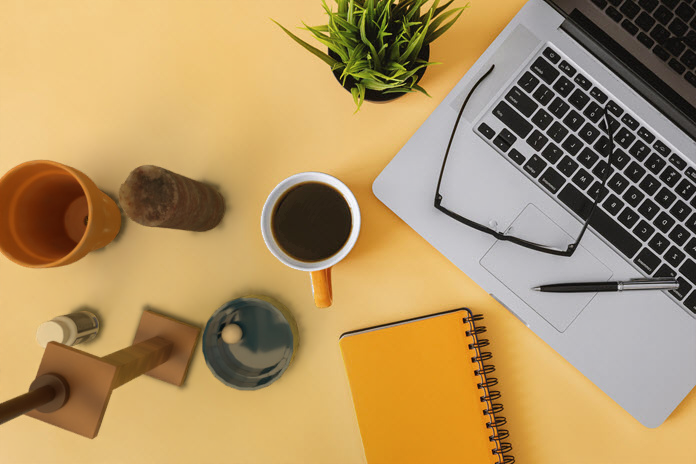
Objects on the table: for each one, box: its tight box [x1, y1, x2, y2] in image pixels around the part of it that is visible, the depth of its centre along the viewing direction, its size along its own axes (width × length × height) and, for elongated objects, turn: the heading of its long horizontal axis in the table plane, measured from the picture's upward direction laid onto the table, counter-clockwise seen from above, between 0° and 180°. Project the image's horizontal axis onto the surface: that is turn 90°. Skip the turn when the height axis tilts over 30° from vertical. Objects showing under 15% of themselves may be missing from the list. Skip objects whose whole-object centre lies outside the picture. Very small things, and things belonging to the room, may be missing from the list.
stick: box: [0, 373, 70, 426], centre depth 45 cm, size 4×4×12 cm
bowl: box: [201, 294, 300, 392], centre depth 71 cm, size 13×13×6 cm
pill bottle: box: [35, 310, 100, 350], centre depth 71 cm, size 5×5×8 cm
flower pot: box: [0, 159, 122, 270], centre depth 69 cm, size 14×14×13 cm
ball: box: [221, 324, 242, 344], centre depth 72 cm, size 3×3×3 cm
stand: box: [22, 309, 202, 440], centre depth 62 cm, size 9×9×24 cm
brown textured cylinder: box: [118, 164, 226, 233], centre depth 65 cm, size 8×7×20 cm
